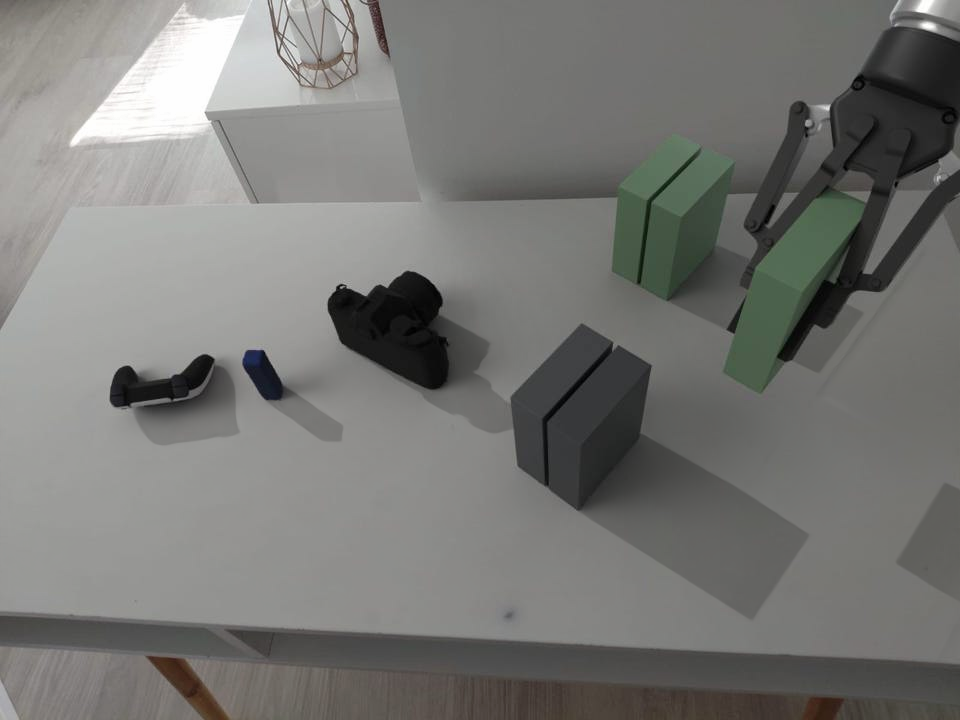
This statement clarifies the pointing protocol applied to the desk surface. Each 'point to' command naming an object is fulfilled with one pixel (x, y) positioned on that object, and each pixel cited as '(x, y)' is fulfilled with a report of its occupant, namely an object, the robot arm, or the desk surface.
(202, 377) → the gaming controller
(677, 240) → the green book
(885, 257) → the robot arm
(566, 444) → the grey book
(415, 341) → the film camera
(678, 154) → the green book
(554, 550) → the desk surface
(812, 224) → the sage book
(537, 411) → the grey book
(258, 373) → the blue rectangular bar
